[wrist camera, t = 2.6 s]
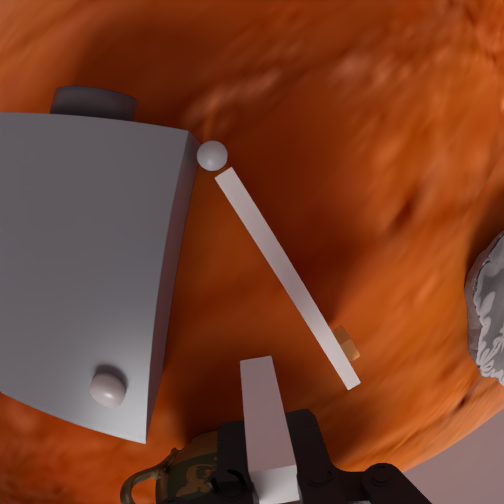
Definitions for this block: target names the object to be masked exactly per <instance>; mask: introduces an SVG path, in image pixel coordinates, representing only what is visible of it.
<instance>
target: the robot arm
mask: <svg viewBox="0 0 504 504" xmlns="http://www.w3.org/2000/svg"><path fill="white" fill-rule="evenodd" d="M240 369H241V383H242V396H243V410H244V421H236V422H228V423H222V425H221V427H220V428H219V430H218V432H217V470H215V471H213V472H212V473H211V475H210V476H209V477H208V480H207V484H208V486H209V488H210V490H211V491H210V492H208V493H207V494H205V495H203V496H200V497H197V498H194V499H190V500H187V499H184V498H182V497H169V498H166V499H164V500H163V501H161V502H160V503H159V504H279V503H285V502H291V501H297V500H300V504H432V503H431V502H430V501H429V500H428V499H427V498H426V497H425V496H424V495H423V494H422V493H421V492H420V491H419V490H418V489H417V488H416V487H415V486H414V485H413V484H412V483H411V482H410V481H409V480H408V479H407V478H406V477H405V476H404V475H403V474H402V472H401V471H400V470H399V469H398V468H396V467H395V466H394V465H392V464H388V463H377V464H375V465H372V466H370V467H369V468H368V469H366V470H365V471H363V472H347V471H343V470H340V469H338V468H336V467H335V466H334V465H333V464H332V463H331V461H330V458H329V455H328V452H327V449H326V446H325V444H324V441H323V438H322V435H321V432H320V429H319V427H318V423H317V420H316V417H315V415H314V414H313V413H311V412H310V411H309V410H308V409H303V410H298V411H294V412H288V413H284V409H283V405H282V401H281V396H280V392H279V388H278V383H277V379H276V374H275V370H274V366H273V361H272V357H271V356H266V357H260V358H254V359H248V360H241V361H240Z"/></svg>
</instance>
